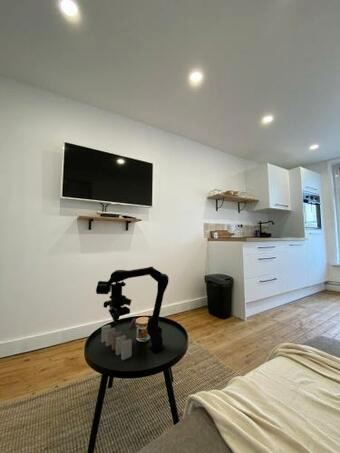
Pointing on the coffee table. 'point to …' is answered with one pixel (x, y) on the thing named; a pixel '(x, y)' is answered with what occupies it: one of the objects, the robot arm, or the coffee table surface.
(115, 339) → the domino
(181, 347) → the coffee table surface
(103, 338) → the domino
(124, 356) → the domino
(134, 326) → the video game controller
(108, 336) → the domino
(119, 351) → the domino
